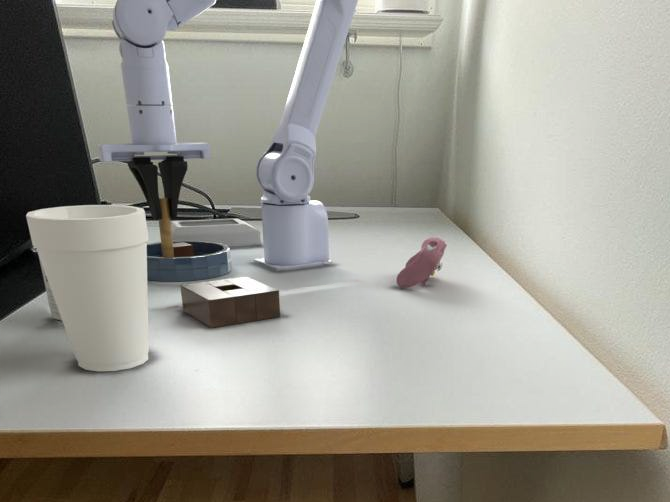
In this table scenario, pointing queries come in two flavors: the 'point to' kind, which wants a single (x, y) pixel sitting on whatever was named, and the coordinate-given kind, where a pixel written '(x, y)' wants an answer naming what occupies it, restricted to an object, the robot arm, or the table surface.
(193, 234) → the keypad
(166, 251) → the stirring stick
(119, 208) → the foam cup
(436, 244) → the pink rounded piece
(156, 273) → the bowl
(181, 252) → the walnut block
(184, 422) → the table surface
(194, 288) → the stick stand
